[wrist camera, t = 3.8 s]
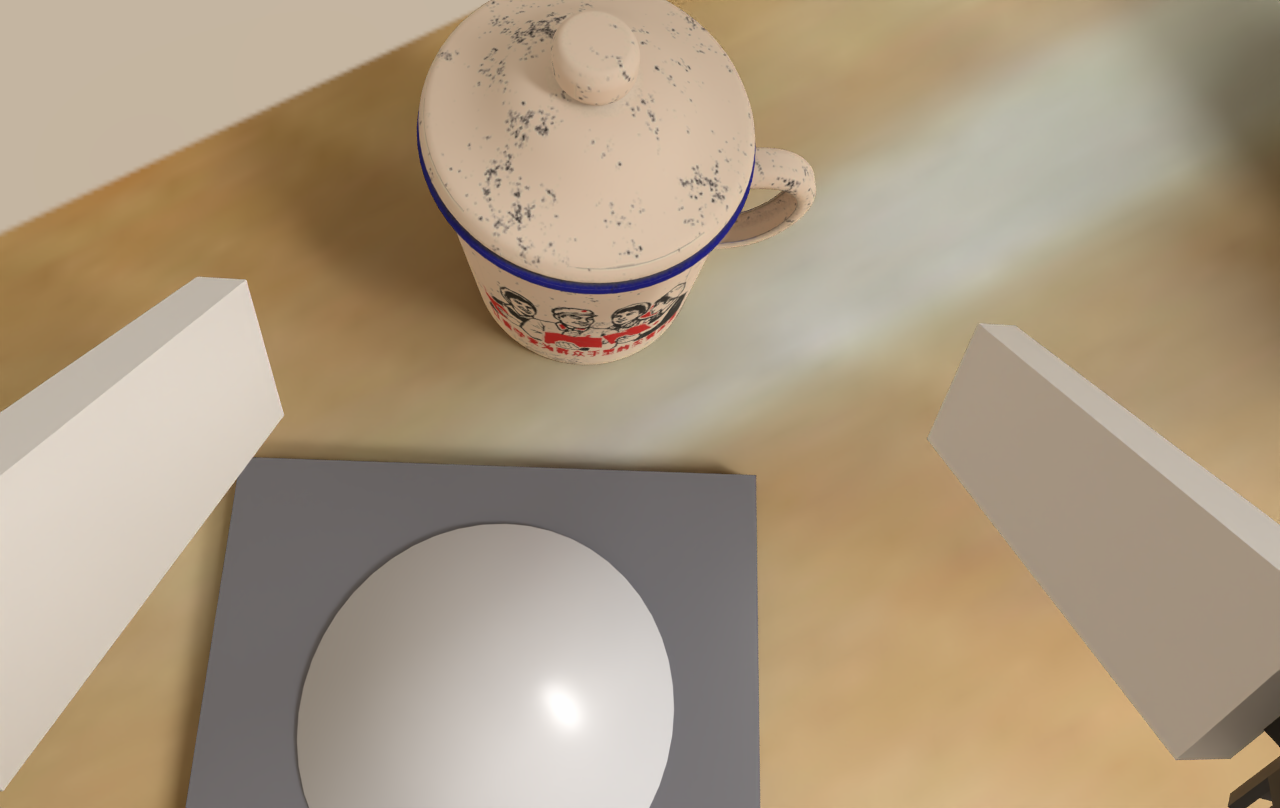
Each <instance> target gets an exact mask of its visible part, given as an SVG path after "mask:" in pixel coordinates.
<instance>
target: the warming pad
mask: <svg viewBox="0 0 1280 808" xmlns="http://www.w3.org/2000/svg"><path fill="white" fill-rule="evenodd" d="M186 808H760V754H759V675H758V596H757V517H756V475H737V474H708V473H680V472H652V471H624V470H595V469H567V468H539V467H511V466H482V465H454V464H426V463H398V462H369V461H341V460H313V459H285V458H256V457H253V458H252V459H251V460H250V462H249V463H248V464H247V466H246V467H245V468H244V470H243V471H242V472H241V474H240V475H239V476H238V478H237V483H236V489H235V496H234V502H233V509H232V515H231V521H230V528H229V534H228V540H227V547H226V553H225V560H224V566H223V572H222V579H221V585H220V591H219V598H218V604H217V610H216V617H215V623H214V630H213V636H212V642H211V649H210V655H209V661H208V668H207V674H206V681H205V687H204V693H203V700H202V706H201V712H200V719H199V725H198V731H197V738H196V744H195V751H194V757H193V763H192V770H191V776H190V782H189V789H188V795H187V801H186Z"/></svg>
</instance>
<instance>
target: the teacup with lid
mask: <svg viewBox="0 0 1280 808" xmlns="http://www.w3.org/2000/svg"><path fill="white" fill-rule="evenodd" d="M417 145H418V152H419V158H420V163H421V167H422V170H423V174H424V178H425V180H426V183H427V185H428V188H429V190H430V193H431V195H432V197H433V198H434V200H435V202H436V204H437V206H438V208H439V209H440V211H441V212H442V214H443V215H444V217H445V218H446V220H447V221H448V223H449V224H450V225H451V226H452V227H453V229H454V230H455V231H456V233H457V235H458V238H459V240H460V243H461V245H462V248H463V250H464V253H465V256H466V258H467V261H468V263H469V266H470V268H471V271H472V273H473V276H474V278H475V281H476V283H477V286H478V288H479V291H480V293H481V296H482V298H483V301H484V303H485V305H486V307H487V308H488V310H489V312H490V313H491V315H492V316H493V318H494V319H495V320H496V322H497V323H498V324H499V325H500V326H501V328H502V329H503V330H504V331H505V332H506V333H507V334H508V335H509V336H511V337H512V338H513V339H514V340H516V341H517V342H518V343H520V344H521V345H523V346H524V347H526V348H527V349H529V350H531V351H533V352H535V353H537V354H539V355H541V356H544V357H546V358H549V359H552V360H556V361H560V362H564V363H570V364H582V365H591V364H602V363H608V362H613V361H616V360H620V359H623V358H626V357H628V356H631V355H633V354H635V353H637V352H639V351H641V350H642V349H644V348H645V347H647V346H649V345H650V344H651V343H653V342H654V341H655V340H656V339H658V338H659V337H660V336H661V335H662V334H663V333H664V332H665V331H666V330H667V329H668V327H669V326H670V325H671V324H672V323H673V321H674V320H675V318H676V317H677V315H678V313H679V311H680V310H681V308H682V306H683V304H684V302H685V300H686V298H687V296H688V294H689V292H690V290H691V288H692V286H693V284H694V282H695V281H696V279H697V277H698V275H699V273H700V271H701V269H702V267H703V265H704V263H705V261H706V259H707V257H708V255H709V253H710V252H711V251H712V250H713V249H721V248H732V247H739V246H745V245H749V244H753V243H756V242H759V241H762V240H765V239H767V238H770V237H772V236H774V235H776V234H778V233H780V232H782V231H784V230H785V229H787V228H788V227H790V226H791V225H793V224H794V223H796V222H797V221H798V220H799V219H800V218H801V217H802V216H803V215H804V214H805V213H806V212H807V211H808V210H809V208H810V207H811V205H812V204H813V201H814V199H815V195H816V184H815V177H814V172H813V169H812V167H811V165H810V164H809V163H808V162H807V161H806V160H805V159H804V158H802V157H801V156H799V155H798V154H796V153H793V152H790V151H787V150H783V149H777V148H762V147H755V128H754V121H753V115H752V110H751V106H750V102H749V99H748V96H747V93H746V91H745V88H744V85H743V83H742V81H741V78H740V76H739V74H738V72H737V70H736V68H735V67H734V65H733V63H732V62H731V60H730V58H729V57H728V55H727V54H726V52H725V51H724V50H723V49H722V47H721V46H720V45H719V43H718V42H717V41H716V40H715V39H714V38H713V37H712V35H711V34H710V33H709V32H708V31H707V30H706V29H705V28H703V27H702V26H701V25H700V24H699V23H698V22H697V21H696V20H694V19H693V18H692V17H690V16H689V15H688V14H687V13H685V12H684V11H682V10H681V9H679V8H678V7H676V6H675V5H673V4H672V3H670V2H668V1H666V0H490V1H489V2H487V3H485V4H484V5H482V6H481V7H479V8H478V9H477V10H475V11H474V12H473V13H471V14H470V15H469V16H468V17H467V18H466V19H465V20H463V21H462V22H461V23H460V24H459V25H458V26H457V28H456V29H455V30H454V31H453V32H452V33H451V34H450V36H449V37H448V38H447V40H446V41H445V43H444V44H443V45H442V47H441V48H440V50H439V52H438V53H437V55H436V57H435V59H434V60H433V62H432V65H431V67H430V69H429V72H428V74H427V76H426V79H425V83H424V86H423V89H422V94H421V99H420V105H419V111H418V119H417ZM750 189H775V190H781V192H780V193H779V194H778V195H777V196H775V197H774V198H772V199H771V200H769V201H768V202H766V203H764V204H762V205H760V206H758V207H755V208H753V209H750V210H747V211H744V212H741V210H742V208H743V206H744V204H745V201H746V199H747V196H748V194H749V190H750Z"/></svg>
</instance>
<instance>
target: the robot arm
mask: <svg viewBox="0 0 1280 808" xmlns="http://www.w3.org/2000/svg"><path fill="white" fill-rule="evenodd" d="M283 416H284V413H283V409H282V406H281V402H280V399H279V395H278V392H277V388H276V384H275V381H274V377H273V374H272V370H271V366H270V363H269V359H268V356H267V352H266V349H265V345H264V341H263V338H262V334H261V331H260V327H259V323H258V320H257V316H256V313H255V309H254V306H253V302H252V298H251V295H250V291H249V288H248V284H247V280H244V279H227V278H210V277H196V278H195V279H193V280H192V281H190V282H189V283H187V284H186V285H184V286H183V287H181V288H180V289H179V290H177V291H176V292H174V293H173V294H171V295H170V296H168V297H167V298H166V299H164V300H163V301H161V302H160V303H158V304H157V305H155V306H154V307H152V308H151V309H150V310H148V311H147V312H145V313H144V314H142V315H141V316H139V317H138V318H137V319H135V320H134V321H132V322H131V323H129V324H128V325H126V326H125V327H123V328H122V329H121V330H119V331H118V332H116V333H115V334H113V335H112V336H110V337H109V338H108V339H106V340H105V341H103V342H102V343H100V344H99V345H97V346H96V347H94V348H93V349H92V350H90V351H89V352H87V353H86V354H84V355H83V356H81V357H80V358H79V359H77V360H76V361H74V362H73V363H71V364H70V365H68V366H67V367H65V368H64V369H63V370H61V371H60V372H58V373H57V374H55V375H54V376H52V377H51V378H50V379H48V380H47V381H45V382H44V383H42V384H41V385H39V386H38V387H36V388H35V389H34V390H32V391H31V392H29V393H28V394H26V395H25V396H23V397H22V398H21V399H19V400H18V401H16V402H15V403H13V404H12V405H10V406H9V407H7V408H6V409H5V410H3V411H2V412H0V791H4V789H5V788H6V787H7V785H8V784H9V783H10V781H11V780H12V779H13V777H14V776H15V775H16V773H17V772H18V771H19V769H20V768H21V767H22V765H23V764H24V763H25V761H26V760H27V759H28V757H29V756H30V755H31V753H32V752H33V751H34V749H35V748H36V747H37V745H38V744H39V742H40V741H41V740H42V738H43V737H44V736H45V734H46V733H47V732H48V730H49V729H50V728H51V726H52V725H53V724H54V722H55V721H56V720H57V718H58V717H59V716H60V714H61V713H62V712H63V710H64V709H65V708H66V706H67V705H68V704H69V702H70V701H71V700H72V698H73V697H74V696H75V694H76V693H77V692H78V690H79V689H80V688H81V686H82V685H83V684H84V682H85V681H86V680H87V678H88V677H89V676H90V674H91V673H92V672H93V670H94V669H95V668H96V666H97V665H98V664H99V662H100V661H101V660H102V658H103V657H104V656H105V654H106V653H107V652H108V650H109V649H110V648H111V646H112V645H113V644H114V642H115V641H116V640H117V638H118V637H119V636H120V634H121V633H122V631H123V630H124V629H125V627H126V626H127V625H128V623H129V622H130V621H131V619H132V618H133V617H134V615H135V614H136V613H137V611H138V610H139V609H140V607H141V606H142V605H143V603H144V602H145V601H146V599H147V598H148V597H149V595H150V594H151V593H152V591H153V590H154V589H155V587H156V586H157V585H158V583H159V582H160V581H161V579H162V578H163V577H164V575H165V574H166V573H167V571H168V570H169V569H170V567H171V566H172V565H173V563H174V562H175V561H176V559H177V558H178V557H179V555H180V554H181V553H182V551H183V550H184V549H185V547H186V546H187V545H188V543H189V542H190V541H191V539H192V538H193V537H194V535H195V534H196V533H197V531H198V530H199V529H200V527H201V526H202V525H203V523H204V522H205V520H206V519H207V518H208V516H209V515H210V514H211V512H212V511H213V510H214V508H215V507H216V506H217V504H218V503H219V502H220V500H221V499H222V498H223V496H224V495H225V494H226V492H227V491H228V490H229V488H230V487H231V486H232V484H233V483H234V482H235V480H236V479H237V478H238V476H239V475H240V474H241V472H242V471H243V470H244V468H245V467H246V466H247V464H248V463H249V462H250V460H251V459H252V458H253V456H254V455H255V454H256V452H257V451H258V450H259V448H260V447H261V446H262V444H263V443H264V442H265V440H266V439H267V438H268V436H269V435H270V434H271V432H272V431H273V430H274V428H275V427H276V426H277V424H278V423H279V422H280V420H281V419H282V418H283ZM927 440H928V441H929V442H930V444H931V445H932V446H933V448H934V449H935V450H936V451H937V453H938V454H939V455H940V457H941V458H942V459H943V460H944V462H945V463H946V464H947V466H948V467H949V468H950V469H951V471H952V472H953V473H954V475H955V476H956V477H957V478H958V480H959V481H960V482H961V484H962V485H963V486H964V488H965V489H966V490H967V491H968V493H969V494H970V495H971V497H972V498H973V499H974V500H975V502H976V503H977V504H978V506H979V507H980V508H981V509H982V511H983V512H984V513H985V515H986V516H987V517H988V518H989V520H990V521H991V522H992V524H993V525H994V526H995V528H996V529H997V530H998V531H999V533H1000V534H1001V535H1002V537H1003V538H1004V539H1005V540H1006V542H1007V543H1008V544H1009V546H1010V547H1011V548H1012V549H1013V551H1014V552H1015V553H1016V555H1017V556H1018V557H1019V558H1020V560H1021V561H1022V562H1023V564H1024V565H1025V566H1026V568H1027V569H1028V570H1029V571H1030V573H1031V574H1032V575H1033V577H1034V578H1035V579H1036V580H1037V582H1038V583H1039V584H1040V586H1041V587H1042V588H1043V589H1044V591H1045V592H1046V593H1047V595H1048V596H1049V597H1050V598H1051V600H1052V601H1053V602H1054V604H1055V605H1056V606H1057V607H1058V609H1059V610H1060V611H1061V613H1062V614H1063V615H1064V617H1065V618H1066V619H1067V620H1068V622H1069V623H1070V624H1071V626H1072V627H1073V628H1074V629H1075V631H1076V632H1077V633H1078V635H1079V636H1080V637H1081V638H1082V640H1083V641H1084V642H1085V644H1086V645H1087V646H1088V647H1089V649H1090V650H1091V651H1092V653H1093V654H1094V655H1095V657H1096V658H1097V659H1098V660H1099V662H1100V663H1101V664H1102V666H1103V667H1104V668H1105V669H1106V671H1107V672H1108V673H1109V675H1110V676H1111V677H1112V678H1113V680H1114V681H1115V682H1116V684H1117V685H1118V686H1119V687H1120V689H1121V690H1122V691H1123V693H1124V694H1125V695H1126V697H1127V698H1128V699H1129V700H1130V702H1131V703H1132V704H1133V706H1134V707H1135V708H1136V709H1137V711H1138V712H1139V713H1140V715H1141V716H1142V717H1143V718H1144V720H1145V721H1146V722H1147V724H1148V725H1149V726H1150V727H1151V729H1152V730H1153V731H1154V733H1155V734H1156V735H1157V737H1158V738H1159V739H1160V740H1161V742H1162V743H1163V744H1164V746H1165V747H1166V748H1167V749H1168V751H1169V752H1170V753H1171V755H1172V756H1173V757H1174V758H1175V760H1198V759H1231V758H1232V757H1233V756H1234V755H1236V754H1237V753H1238V752H1239V751H1241V750H1242V749H1243V748H1244V747H1245V746H1247V745H1248V744H1249V743H1250V742H1252V741H1253V740H1254V739H1255V738H1257V737H1258V736H1259V735H1260V734H1262V733H1263V732H1264V731H1265V732H1266V733H1267V734H1268V735H1269V736H1270V737H1271V738H1272V739H1273V740H1274V741H1275V742H1276V744H1277V745H1278V746H1279V747H1280V525H1279V524H1278V523H1276V522H1275V521H1274V520H1272V519H1271V518H1270V517H1268V516H1267V515H1266V514H1264V513H1263V512H1262V511H1260V510H1259V509H1258V508H1257V507H1255V506H1254V505H1253V504H1251V503H1250V502H1249V501H1247V500H1246V499H1245V498H1243V497H1242V496H1241V495H1239V494H1238V493H1237V492H1235V491H1234V490H1233V489H1231V488H1230V487H1229V486H1227V485H1226V484H1225V483H1223V482H1222V481H1221V480H1219V479H1218V478H1217V477H1215V476H1214V475H1213V474H1211V473H1210V472H1209V471H1207V470H1206V469H1205V468H1203V467H1202V466H1201V465H1199V464H1198V463H1197V462H1196V461H1194V460H1193V459H1192V458H1190V457H1189V456H1188V455H1186V454H1185V453H1184V452H1182V451H1181V450H1180V449H1178V448H1177V447H1176V446H1174V445H1173V444H1172V443H1170V442H1169V441H1168V440H1166V439H1165V438H1164V437H1162V436H1161V435H1160V434H1158V433H1157V432H1156V431H1154V430H1153V429H1152V428H1150V427H1149V426H1148V425H1146V424H1145V423H1144V422H1142V421H1141V420H1140V419H1139V418H1137V417H1136V416H1135V415H1133V414H1132V413H1131V412H1129V411H1128V410H1127V409H1125V408H1124V407H1123V406H1121V405H1120V404H1119V403H1117V402H1116V401H1115V400H1113V399H1112V398H1111V397H1109V396H1108V395H1107V394H1105V393H1104V392H1103V391H1101V390H1100V389H1099V388H1097V387H1096V386H1095V385H1093V384H1092V383H1091V382H1089V381H1088V380H1087V379H1085V378H1084V377H1083V376H1082V375H1080V374H1079V373H1078V372H1076V371H1075V370H1074V369H1072V368H1071V367H1070V366H1068V365H1067V364H1066V363H1064V362H1063V361H1062V360H1060V359H1059V358H1058V357H1056V356H1055V355H1054V354H1052V353H1051V352H1050V351H1048V350H1047V349H1046V348H1044V347H1043V346H1042V345H1040V344H1039V343H1038V342H1036V341H1035V340H1034V339H1032V338H1031V337H1030V336H1028V335H1027V334H1026V333H1024V332H1023V331H1022V330H1021V329H1019V328H1018V327H1017V326H1015V325H999V324H982V323H978V324H977V327H976V329H975V331H974V334H973V336H972V338H971V340H970V343H969V345H968V347H967V349H966V352H965V354H964V356H963V358H962V361H961V363H960V365H959V367H958V370H957V372H956V374H955V376H954V379H953V381H952V383H951V385H950V388H949V390H948V392H947V394H946V397H945V399H944V401H943V404H942V406H941V408H940V410H939V413H938V415H937V417H936V419H935V422H934V424H933V426H932V428H931V431H930V433H929V435H928V437H927ZM1259 798H1262V799H1265V800H1269V801H1272V804H1273V806H1271V807H1270V808H1280V756H1279V757H1278V758H1277V759H1275V760H1274V761H1273V762H1271V763H1270V764H1269V765H1267V766H1266V767H1265V768H1264V769H1262V770H1261V771H1260V772H1258V773H1257V774H1256V775H1254V776H1253V777H1252V778H1250V779H1249V780H1248V781H1246V782H1245V783H1244V784H1242V785H1241V786H1240V787H1238V788H1237V789H1236V790H1235V791H1233V792H1232V793H1231V794H1230V798H1229V803H1228V807H1229V808H1246V807H1248V806H1249V805H1251V804H1252V803H1253V802H1255V801H1256V800H1257V799H1259Z"/></svg>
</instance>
